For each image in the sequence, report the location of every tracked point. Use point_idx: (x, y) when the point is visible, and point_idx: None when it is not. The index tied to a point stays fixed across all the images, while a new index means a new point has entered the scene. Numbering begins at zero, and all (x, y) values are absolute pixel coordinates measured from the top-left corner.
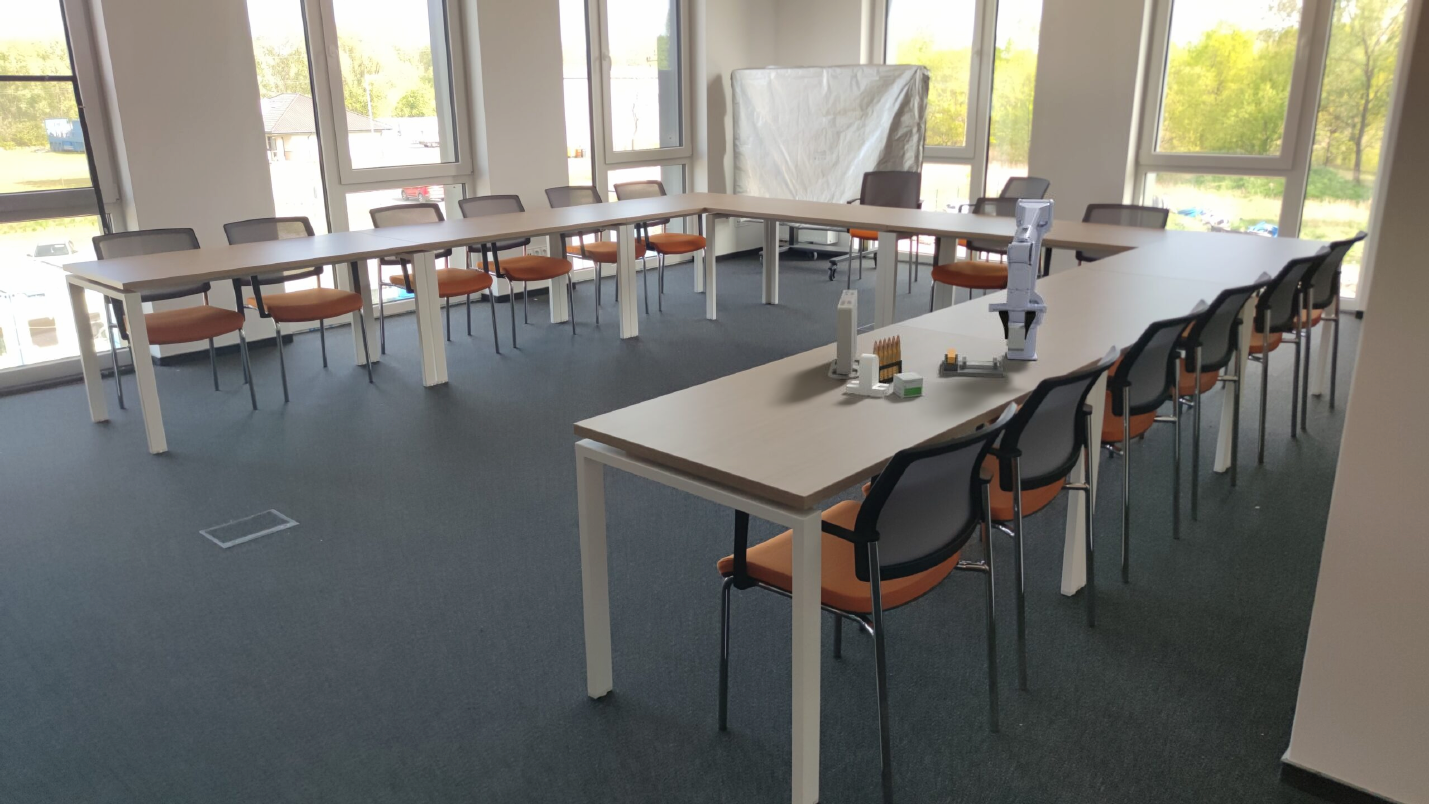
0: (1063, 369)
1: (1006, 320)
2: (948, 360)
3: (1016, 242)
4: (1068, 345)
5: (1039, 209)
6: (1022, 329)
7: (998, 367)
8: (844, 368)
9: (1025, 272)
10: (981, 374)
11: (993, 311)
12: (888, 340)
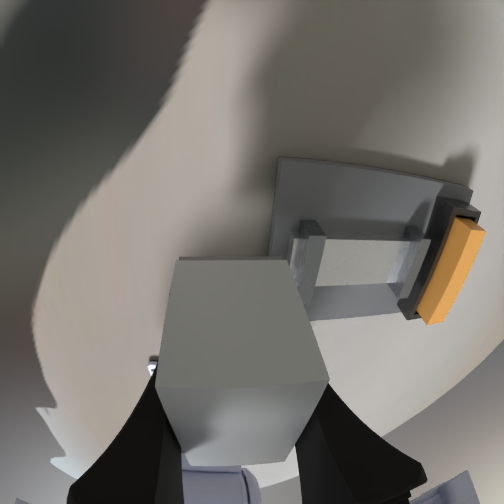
0: (62, 286)
1: (356, 461)
2: (476, 224)
3: None
4: (110, 424)
5: None
6: (184, 385)
7: (294, 234)
8: None
9: None
10: (368, 168)
11: (435, 490)
12: None
